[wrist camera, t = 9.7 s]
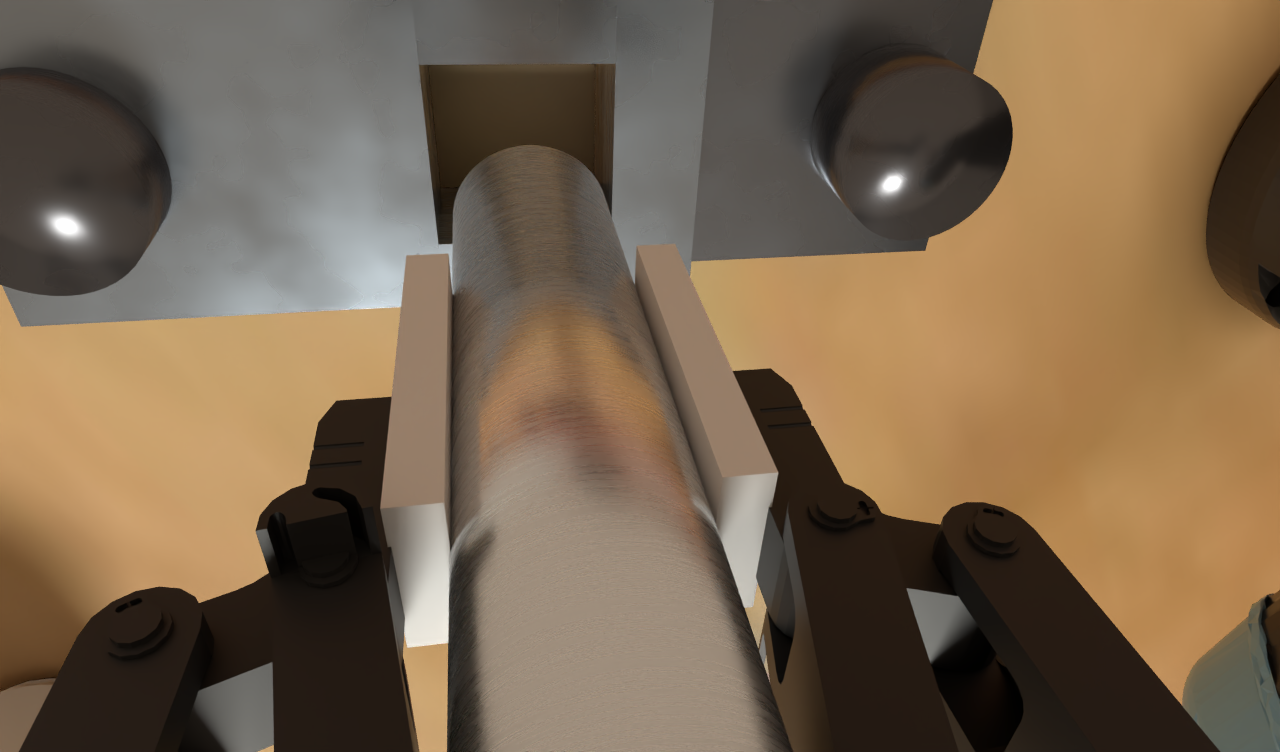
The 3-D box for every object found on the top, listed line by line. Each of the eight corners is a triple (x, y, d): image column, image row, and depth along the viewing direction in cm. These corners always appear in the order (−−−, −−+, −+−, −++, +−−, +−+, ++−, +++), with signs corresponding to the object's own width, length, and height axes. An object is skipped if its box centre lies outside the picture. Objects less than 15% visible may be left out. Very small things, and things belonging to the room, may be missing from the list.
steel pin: (631, 120, 19) (1093, 1067, 5) (624, 298, 21) (915, 1227, 8) (419, 124, 18) (300, 1250, 4) (440, 308, 20) (407, 1356, 7)
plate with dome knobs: (967, -43, 26) (1083, 1, 21) (901, 225, 31) (982, 309, 26) (-53, -60, 21) (-204, -8, 16) (74, 258, 26) (-12, 367, 22)
